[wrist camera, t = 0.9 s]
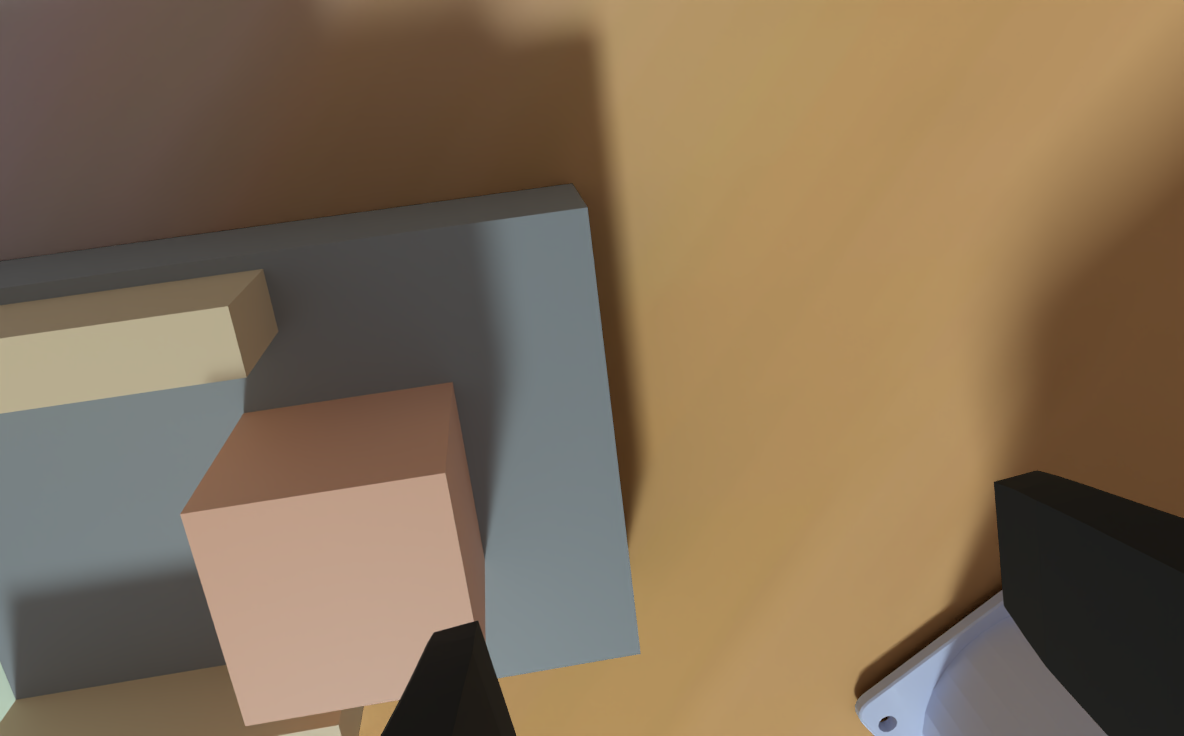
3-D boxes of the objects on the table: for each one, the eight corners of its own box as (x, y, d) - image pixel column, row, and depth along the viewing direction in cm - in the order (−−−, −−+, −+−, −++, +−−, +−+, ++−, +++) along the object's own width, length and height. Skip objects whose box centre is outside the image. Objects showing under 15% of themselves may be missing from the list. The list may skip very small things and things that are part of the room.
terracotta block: (452, 381, 18) (445, 473, 14) (484, 559, 19) (486, 684, 16) (243, 413, 18) (180, 514, 14) (291, 591, 19) (245, 726, 15)
